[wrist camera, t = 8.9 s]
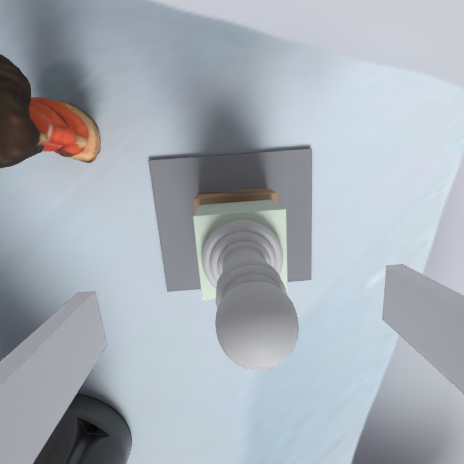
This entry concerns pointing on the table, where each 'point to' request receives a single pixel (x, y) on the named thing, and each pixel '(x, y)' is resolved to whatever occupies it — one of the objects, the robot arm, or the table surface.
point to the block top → (223, 213)
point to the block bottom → (234, 196)
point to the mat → (229, 179)
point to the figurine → (40, 123)
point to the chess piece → (250, 294)
